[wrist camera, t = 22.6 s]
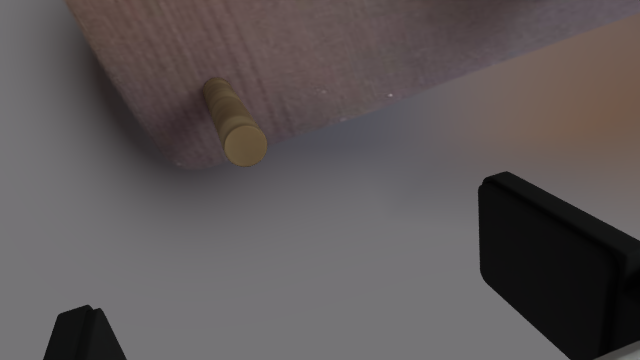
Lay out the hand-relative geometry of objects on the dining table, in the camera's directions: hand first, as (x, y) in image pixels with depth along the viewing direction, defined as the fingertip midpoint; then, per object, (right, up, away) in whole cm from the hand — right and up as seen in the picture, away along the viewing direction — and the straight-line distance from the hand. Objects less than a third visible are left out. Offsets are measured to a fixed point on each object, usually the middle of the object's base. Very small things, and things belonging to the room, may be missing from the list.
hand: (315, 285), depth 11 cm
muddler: (-7, +9, +22) cm, 24 cm away
